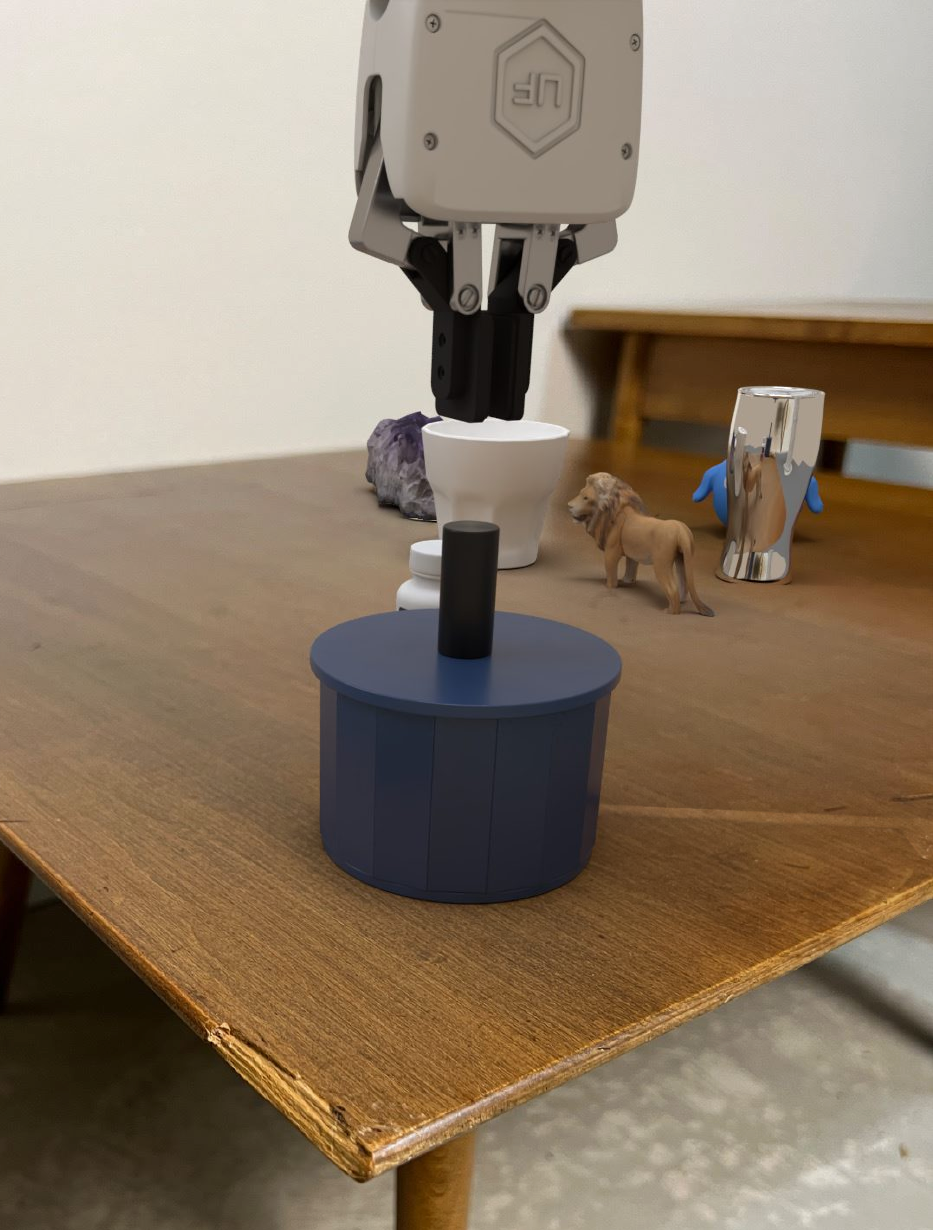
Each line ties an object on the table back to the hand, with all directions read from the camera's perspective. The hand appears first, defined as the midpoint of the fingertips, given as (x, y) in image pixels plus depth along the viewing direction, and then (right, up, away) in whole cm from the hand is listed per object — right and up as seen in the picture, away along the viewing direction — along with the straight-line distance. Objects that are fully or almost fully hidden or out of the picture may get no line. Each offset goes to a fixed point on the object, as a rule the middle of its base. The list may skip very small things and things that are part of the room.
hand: (478, 415), depth 49 cm
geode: (+3, +15, +80) cm, 81 cm away
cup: (+7, +5, +58) cm, 58 cm away
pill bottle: (0, -11, +23) cm, 26 cm away
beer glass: (+29, +2, +53) cm, 60 cm away
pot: (0, -17, +8) cm, 19 cm away
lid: (0, -10, +4) cm, 11 cm away
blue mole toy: (+33, +8, +66) cm, 74 cm away
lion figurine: (+17, -1, +46) cm, 49 cm away
